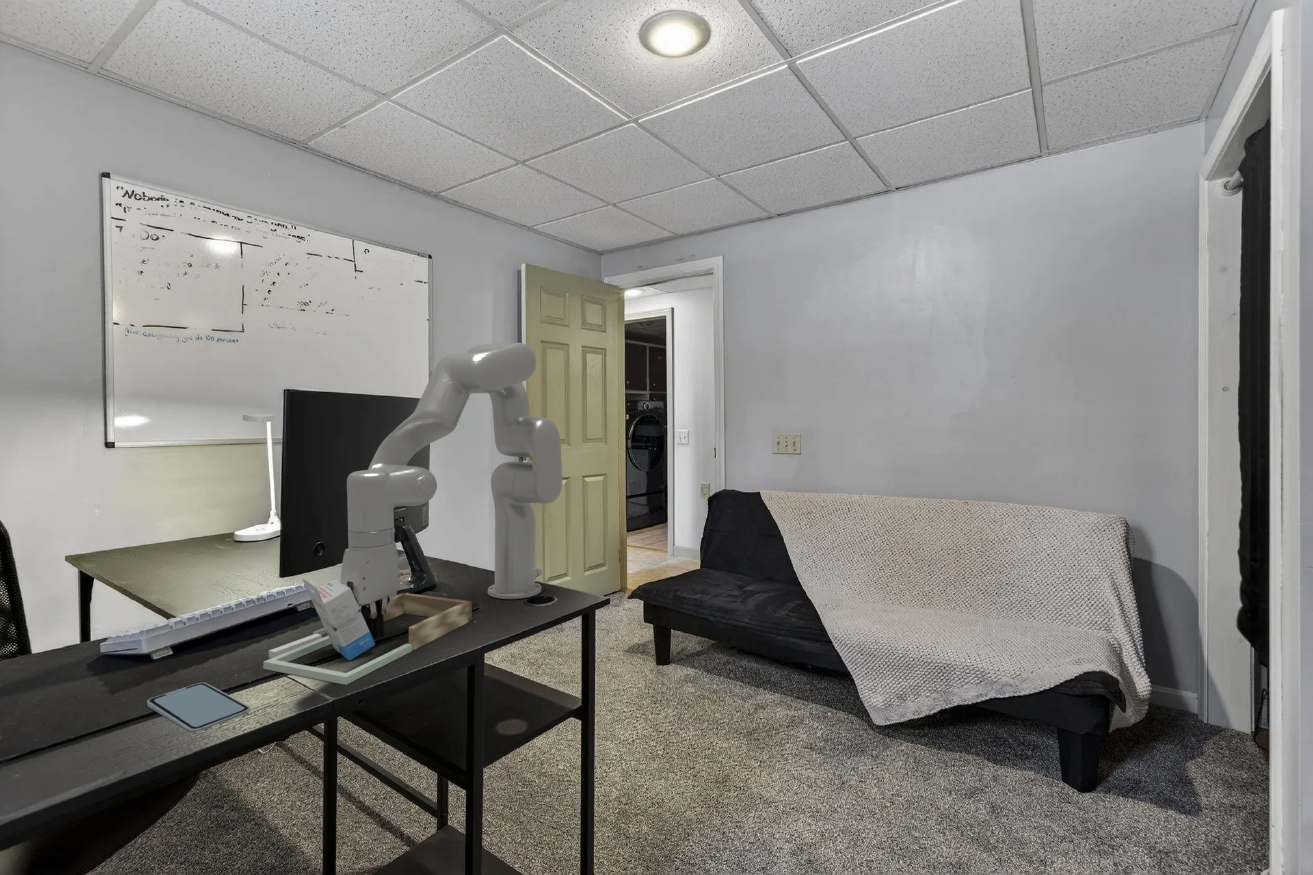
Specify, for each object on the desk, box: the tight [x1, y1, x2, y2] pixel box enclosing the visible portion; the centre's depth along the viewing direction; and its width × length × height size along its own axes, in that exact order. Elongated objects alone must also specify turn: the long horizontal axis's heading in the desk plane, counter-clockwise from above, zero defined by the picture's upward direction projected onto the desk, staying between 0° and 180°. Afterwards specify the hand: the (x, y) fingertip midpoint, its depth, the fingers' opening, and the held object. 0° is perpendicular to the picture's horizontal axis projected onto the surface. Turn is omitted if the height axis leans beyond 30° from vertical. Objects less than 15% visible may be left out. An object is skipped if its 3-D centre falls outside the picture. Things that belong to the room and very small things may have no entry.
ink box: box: [301, 577, 376, 661], centre depth 105 cm, size 9×5×15 cm, turn 45°
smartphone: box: [146, 682, 251, 733], centre depth 85 cm, size 7×1×15 cm
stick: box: [268, 634, 323, 659], centre depth 107 cm, size 9×2×2 cm, turn 158°
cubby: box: [367, 592, 473, 651], centre depth 118 cm, size 17×17×4 cm
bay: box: [262, 635, 413, 686], centre depth 103 cm, size 15×17×1 cm
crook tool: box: [312, 627, 327, 636], centre depth 119 cm, size 12×5×1 cm, turn 161°
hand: (373, 636), depth 110 cm, fingers closed
